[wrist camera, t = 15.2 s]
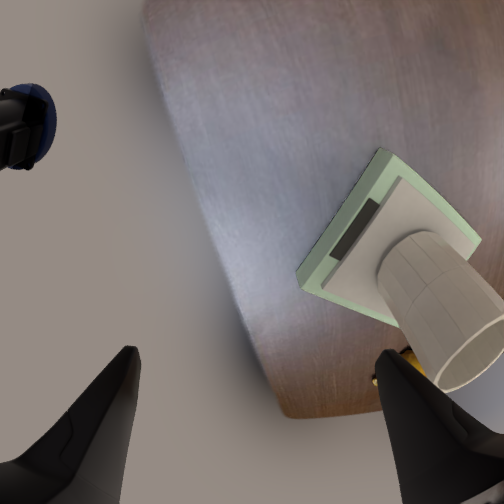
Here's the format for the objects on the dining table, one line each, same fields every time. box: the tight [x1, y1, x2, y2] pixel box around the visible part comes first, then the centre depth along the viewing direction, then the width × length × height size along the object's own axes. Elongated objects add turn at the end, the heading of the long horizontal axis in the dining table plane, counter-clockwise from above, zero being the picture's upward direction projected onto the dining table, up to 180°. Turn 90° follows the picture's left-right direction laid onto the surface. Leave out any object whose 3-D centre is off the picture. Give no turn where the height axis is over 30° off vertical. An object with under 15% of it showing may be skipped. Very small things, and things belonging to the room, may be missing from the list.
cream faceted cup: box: [377, 231, 504, 393], centre depth 17 cm, size 7×7×10 cm
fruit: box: [372, 350, 426, 386], centre depth 31 cm, size 8×8×4 cm
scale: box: [296, 148, 482, 328], centre depth 22 cm, size 14×12×3 cm
